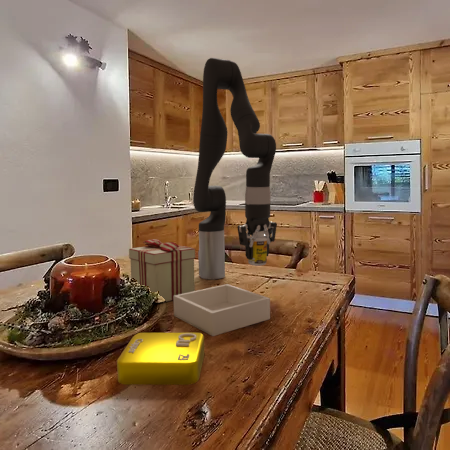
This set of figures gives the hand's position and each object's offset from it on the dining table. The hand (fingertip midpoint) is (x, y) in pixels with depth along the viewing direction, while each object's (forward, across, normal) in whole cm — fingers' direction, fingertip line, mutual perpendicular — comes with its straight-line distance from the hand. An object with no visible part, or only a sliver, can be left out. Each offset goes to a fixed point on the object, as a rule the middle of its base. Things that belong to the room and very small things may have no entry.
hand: (257, 257), depth 124 cm
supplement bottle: (+2, 0, 0) cm, 2 cm away
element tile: (+12, +45, +24) cm, 52 cm away
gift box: (+13, +21, -20) cm, 32 cm away
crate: (+12, +20, +9) cm, 25 cm away
